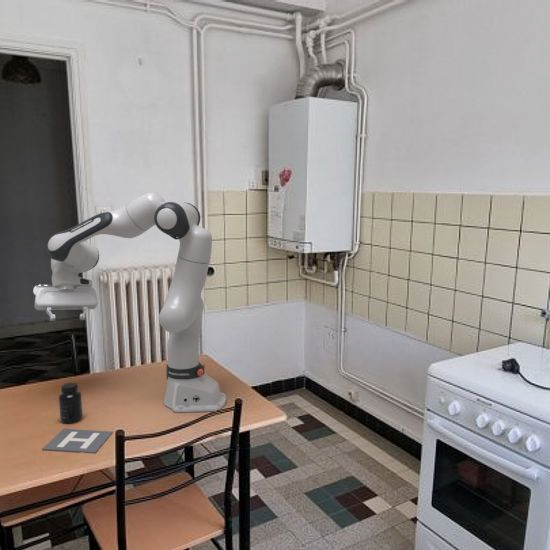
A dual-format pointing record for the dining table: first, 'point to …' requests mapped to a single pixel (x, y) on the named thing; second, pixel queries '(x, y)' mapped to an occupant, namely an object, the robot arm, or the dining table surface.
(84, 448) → the board
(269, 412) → the dining table surface
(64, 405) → the supplement bottle
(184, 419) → the dining table surface
